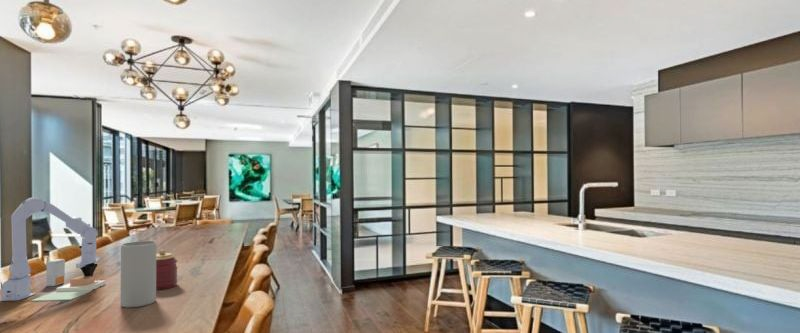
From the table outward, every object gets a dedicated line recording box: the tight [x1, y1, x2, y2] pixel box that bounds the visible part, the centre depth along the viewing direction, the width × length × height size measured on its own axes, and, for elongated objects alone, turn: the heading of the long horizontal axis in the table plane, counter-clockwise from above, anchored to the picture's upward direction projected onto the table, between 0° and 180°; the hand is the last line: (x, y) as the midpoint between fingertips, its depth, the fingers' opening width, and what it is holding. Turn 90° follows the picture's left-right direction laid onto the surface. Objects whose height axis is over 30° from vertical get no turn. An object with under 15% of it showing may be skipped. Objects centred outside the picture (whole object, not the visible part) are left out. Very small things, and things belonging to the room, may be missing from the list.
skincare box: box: [45, 258, 66, 287], centre depth 200 cm, size 6×4×12 cm
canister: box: [156, 249, 179, 291], centre depth 195 cm, size 13×13×18 cm
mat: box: [30, 290, 92, 302], centre depth 180 cm, size 13×16×1 cm
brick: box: [69, 275, 95, 286], centre depth 193 cm, size 6×7×3 cm
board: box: [55, 280, 106, 292], centre depth 193 cm, size 12×14×2 cm
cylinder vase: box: [119, 240, 157, 309], centre depth 169 cm, size 12×12×25 cm
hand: (88, 279), depth 197 cm, fingers closed
